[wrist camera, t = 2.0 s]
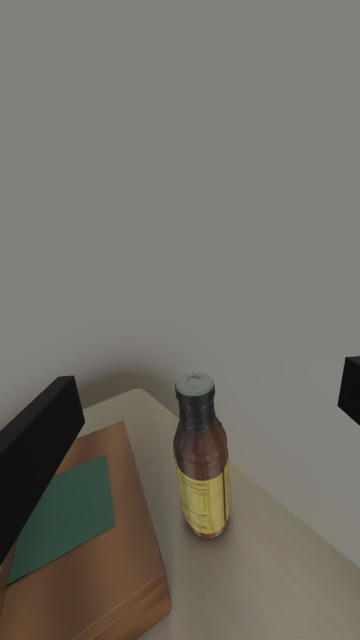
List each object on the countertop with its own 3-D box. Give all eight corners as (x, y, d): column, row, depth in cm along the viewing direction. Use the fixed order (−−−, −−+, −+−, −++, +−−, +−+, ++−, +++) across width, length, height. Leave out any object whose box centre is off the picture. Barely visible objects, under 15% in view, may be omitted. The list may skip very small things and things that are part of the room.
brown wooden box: (128, 447, 37) (121, 411, 34) (171, 610, 19) (163, 556, 17) (38, 486, 31) (23, 446, 29) (-19, 767, 13) (-69, 718, 11)
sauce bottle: (204, 477, 30) (198, 359, 25) (240, 513, 26) (241, 378, 20) (171, 512, 27) (154, 381, 21) (206, 562, 22) (196, 410, 16)
